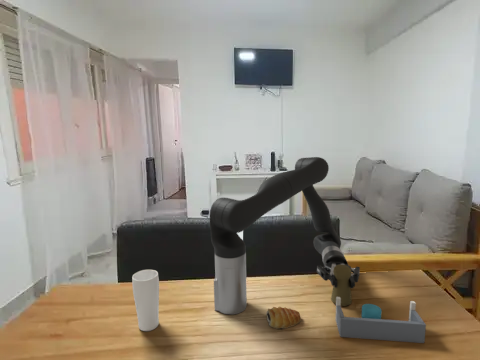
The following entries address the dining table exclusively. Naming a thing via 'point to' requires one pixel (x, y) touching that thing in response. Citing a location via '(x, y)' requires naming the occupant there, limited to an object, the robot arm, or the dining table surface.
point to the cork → (342, 285)
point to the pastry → (282, 317)
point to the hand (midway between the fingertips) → (344, 284)
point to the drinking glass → (146, 298)
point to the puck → (371, 311)
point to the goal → (381, 327)
